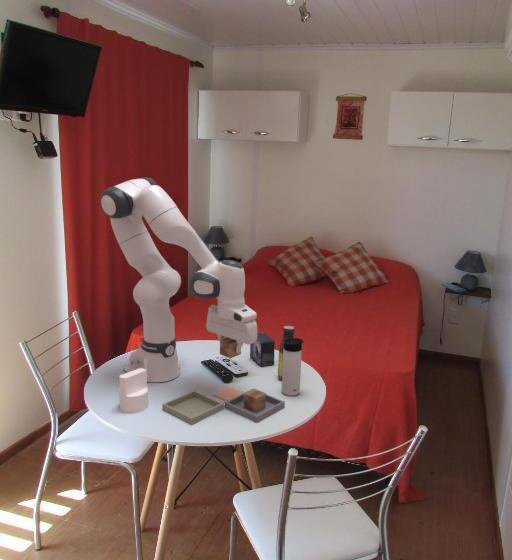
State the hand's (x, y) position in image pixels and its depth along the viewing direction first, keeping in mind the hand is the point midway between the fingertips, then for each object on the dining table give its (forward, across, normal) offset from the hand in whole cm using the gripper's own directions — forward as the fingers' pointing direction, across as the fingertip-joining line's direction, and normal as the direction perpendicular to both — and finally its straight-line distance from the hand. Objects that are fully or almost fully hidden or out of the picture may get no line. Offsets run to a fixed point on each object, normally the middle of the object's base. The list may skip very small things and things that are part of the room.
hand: (230, 349), depth 174 cm
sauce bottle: (+17, +5, +25) cm, 31 cm away
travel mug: (+17, +14, +16) cm, 27 cm away
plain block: (+16, +12, -1) cm, 20 cm away
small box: (+17, -12, +31) cm, 38 cm away
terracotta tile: (+17, 0, 0) cm, 17 cm away
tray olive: (+17, -2, -15) cm, 23 cm away
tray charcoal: (+17, +12, -1) cm, 21 cm away
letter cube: (+2, 0, 0) cm, 2 cm away
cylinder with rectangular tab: (+17, -17, -27) cm, 36 cm away
